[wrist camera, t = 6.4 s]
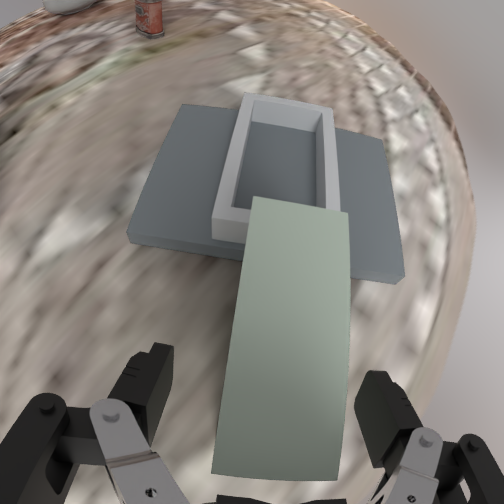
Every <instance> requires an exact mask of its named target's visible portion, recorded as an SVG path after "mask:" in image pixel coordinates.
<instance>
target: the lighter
mask: <svg viewBox="0 0 504 504" xmlns="http://www.w3.org/2000/svg"><path fill="white" fill-rule="evenodd" d="M135 12H136V24H137V25H136V31H137V33H138V34H139V35H141V36H143V37H145V38H148V39H158V38H162V37H163V36H164V30H163V27H162V0H135Z"/></svg>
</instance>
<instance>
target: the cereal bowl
mask: <svg viewBox="0 0 504 504" xmlns="http://www.w3.org/2000/svg"><path fill="white" fill-rule="evenodd" d="M96 1H98V0H43V5H44V7H45V9H46V10H47V11H48V12H50V13H53V14H63V15H69V14H73V13H76V12H79V11H82V10H84V9H87V8H89V7H90V6H91V5H92V4H93V3H94V2H96Z"/></svg>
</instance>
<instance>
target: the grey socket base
mask: <svg viewBox="0 0 504 504" xmlns="http://www.w3.org/2000/svg"><path fill="white" fill-rule="evenodd" d="M253 196H257V197H263V198H269V199H275V200H281V201H286V202H292V203H298V204H303V205H309V206H314V207H320V208H325V209H330V210H335V211H340V212H345V213H348V221H349V244H350V278H355V279H362V280H369V281H375V282H382V283H389V284H397V283H398V282H399V281H400V280H401V279H402V278H404V277H405V272H404V262H403V253H402V245H401V238H400V231H399V224H398V217H397V211H396V205H395V200H394V194H393V189H392V183H391V178H390V174H389V169H388V164H387V160H386V155H385V151H384V147H383V142H382V140H381V139H377V138H374V137H370V136H366V135H362V134H359V133H355V132H351V131H347V130H343V129H338V128H335V127H334V118H333V109H332V108H328V107H324V106H319V105H315V104H310V103H305V102H300V101H295V100H290V99H284V98H279V97H273V96H266V95H260V94H253V93H246V92H245V93H244V96H243V100H242V103H241V107H240V110H234V109H226V108H218V107H208V106H198V105H186V104H182V106H181V108H180V110H179V112H178V114H177V116H176V118H175V120H174V122H173V124H172V126H171V128H170V130H169V132H168V134H167V136H166V138H165V140H164V142H163V145H162V147H161V149H160V151H159V153H158V155H157V158H156V160H155V162H154V164H153V167H152V169H151V171H150V174H149V176H148V178H147V181H146V183H145V185H144V188H143V190H142V193H141V195H140V198H139V200H138V203H137V205H136V208H135V210H134V213H133V215H132V218H131V221H130V223H129V226H128V229H127V231H126V233H127V235H128V237H129V240H130V242H131V243H134V244H140V245H146V246H152V247H158V248H164V249H170V250H176V251H183V252H189V253H195V254H201V255H207V256H213V257H220V258H226V259H232V260H238V261H243V257H244V251H245V245H246V238H247V232H248V226H249V220H250V214H251V208H252V201H253Z"/></svg>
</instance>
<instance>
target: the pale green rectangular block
mask: <svg viewBox="0 0 504 504" xmlns="http://www.w3.org/2000/svg"><path fill="white" fill-rule="evenodd" d="M349 346H350V244H349V221H348V213H345V212H340V211H335V210H330V209H325V208H320V207H314V206H309V205H303V204H298V203H292V202H286V201H281V200H275V199H269V198H263V197H257V196H253V201H252V208H251V214H250V220H249V226H248V232H247V238H246V245H245V251H244V257H243V263H242V270H241V276H240V282H239V289H238V295H237V301H236V308H235V314H234V321H233V327H232V334H231V340H230V347H229V353H228V360H227V367H226V373H225V380H224V386H223V393H222V400H221V406H220V413H219V420H218V427H217V434H216V440H215V448H214V455H213V462H212V470H211V474H218V475H226V476H234V477H243V478H253V479H266V480H285V481H335V480H337V479H338V472H339V465H340V457H341V449H342V440H343V431H344V421H345V410H346V398H347V384H348V368H349Z"/></svg>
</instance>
